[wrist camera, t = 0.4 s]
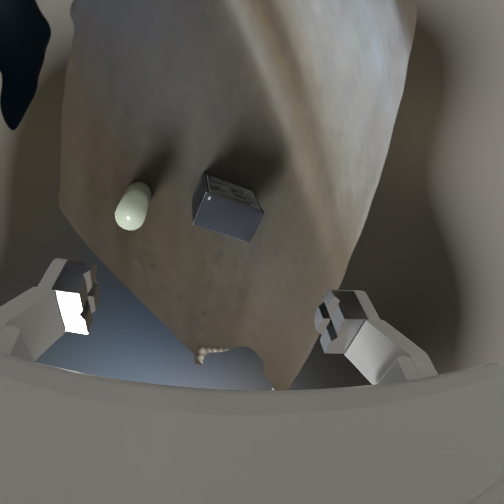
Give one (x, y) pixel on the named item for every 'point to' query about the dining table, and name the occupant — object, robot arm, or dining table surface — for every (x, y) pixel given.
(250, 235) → the small box
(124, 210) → the pale green tall cylinder
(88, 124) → the dining table surface
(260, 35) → the dining table surface
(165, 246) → the dining table surface
